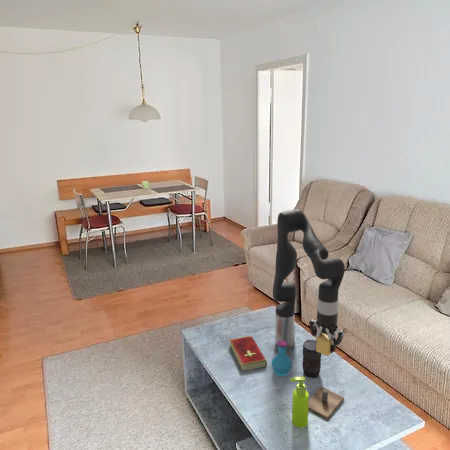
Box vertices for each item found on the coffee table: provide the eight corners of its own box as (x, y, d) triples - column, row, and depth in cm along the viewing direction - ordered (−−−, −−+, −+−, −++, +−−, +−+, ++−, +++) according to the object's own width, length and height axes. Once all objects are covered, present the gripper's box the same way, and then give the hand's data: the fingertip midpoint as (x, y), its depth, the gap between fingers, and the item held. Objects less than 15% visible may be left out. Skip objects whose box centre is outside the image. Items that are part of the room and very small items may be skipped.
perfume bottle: (279, 380, 177) (279, 351, 173) (267, 368, 185) (267, 340, 181) (296, 373, 181) (297, 344, 177) (284, 362, 189) (284, 334, 185)
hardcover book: (252, 342, 206) (252, 334, 205) (266, 367, 187) (266, 359, 186) (229, 346, 204) (229, 339, 202) (242, 372, 184) (242, 364, 183)
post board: (321, 388, 172) (322, 377, 170) (343, 399, 165) (344, 388, 163) (304, 407, 162) (304, 395, 160) (327, 419, 155) (328, 407, 154)
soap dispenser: (287, 417, 157) (288, 373, 151) (305, 415, 158) (306, 372, 152) (291, 428, 151) (292, 384, 145) (309, 427, 152) (311, 382, 146)
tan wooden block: (322, 345, 159) (323, 332, 157) (334, 350, 156) (335, 336, 154) (316, 351, 156) (316, 337, 154) (328, 356, 152) (328, 342, 151)
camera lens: (298, 374, 181) (299, 345, 177) (308, 365, 187) (309, 337, 182) (314, 382, 176) (315, 352, 171) (323, 372, 181) (325, 343, 177)
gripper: (350, 311, 149) (347, 351, 154) (315, 300, 158) (314, 338, 163) (340, 319, 143) (338, 361, 148) (305, 307, 153) (304, 346, 158)
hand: (325, 348), depth 156 cm, fingers closed on tan wooden block, 5 cm apart
